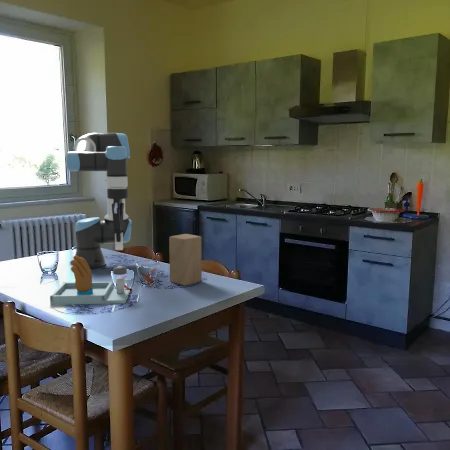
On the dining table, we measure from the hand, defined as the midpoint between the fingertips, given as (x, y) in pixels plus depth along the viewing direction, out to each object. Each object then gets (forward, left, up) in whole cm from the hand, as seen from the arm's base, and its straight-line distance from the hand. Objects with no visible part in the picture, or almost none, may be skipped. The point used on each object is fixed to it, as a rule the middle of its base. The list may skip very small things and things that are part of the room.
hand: (119, 249), depth 173 cm
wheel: (0, 0, -9) cm, 9 cm away
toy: (0, -14, -18) cm, 22 cm away
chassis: (0, -11, -19) cm, 21 cm away
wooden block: (-19, +25, -19) cm, 37 cm away
